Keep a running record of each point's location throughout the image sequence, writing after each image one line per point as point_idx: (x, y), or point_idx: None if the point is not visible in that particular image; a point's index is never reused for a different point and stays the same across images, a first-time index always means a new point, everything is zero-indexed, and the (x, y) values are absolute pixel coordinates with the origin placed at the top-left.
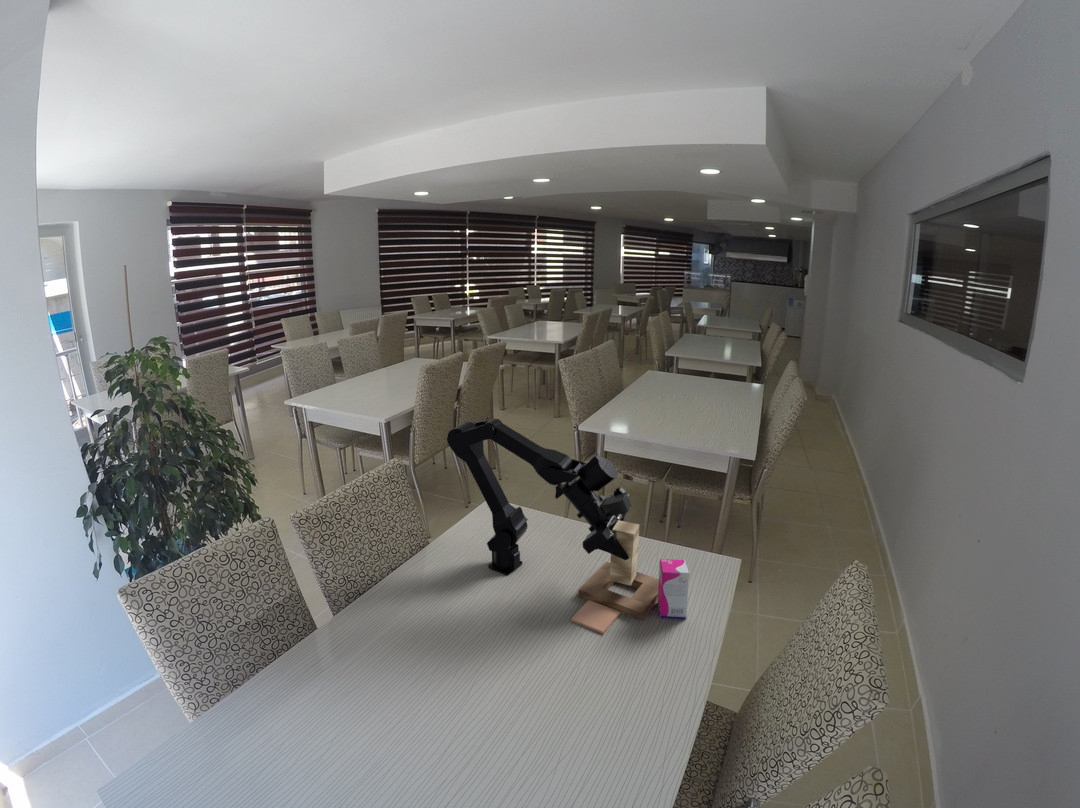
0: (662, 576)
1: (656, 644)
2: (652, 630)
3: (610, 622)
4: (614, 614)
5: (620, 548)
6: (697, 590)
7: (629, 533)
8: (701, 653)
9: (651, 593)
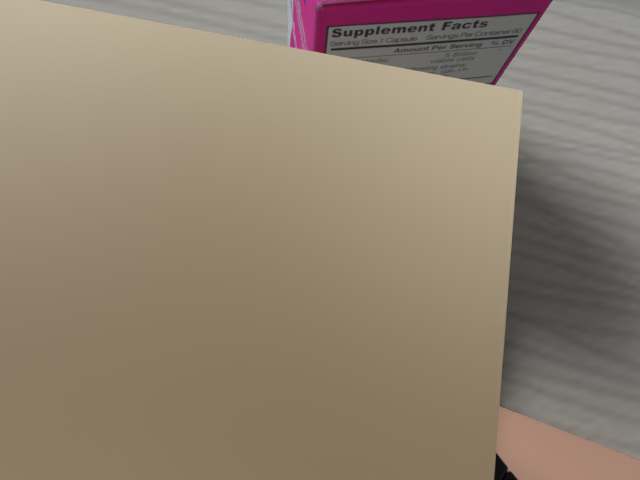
0: (537, 19)
1: (628, 199)
2: (537, 218)
3: (581, 442)
4: (503, 426)
5: (501, 460)
6: (158, 8)
7: (501, 231)
8: (610, 30)
9: None
